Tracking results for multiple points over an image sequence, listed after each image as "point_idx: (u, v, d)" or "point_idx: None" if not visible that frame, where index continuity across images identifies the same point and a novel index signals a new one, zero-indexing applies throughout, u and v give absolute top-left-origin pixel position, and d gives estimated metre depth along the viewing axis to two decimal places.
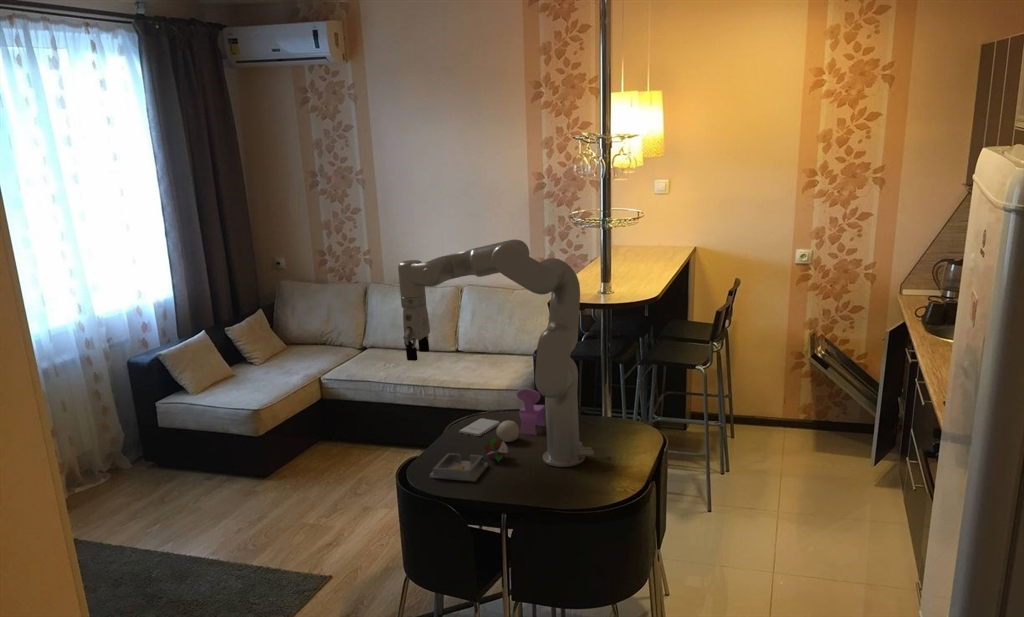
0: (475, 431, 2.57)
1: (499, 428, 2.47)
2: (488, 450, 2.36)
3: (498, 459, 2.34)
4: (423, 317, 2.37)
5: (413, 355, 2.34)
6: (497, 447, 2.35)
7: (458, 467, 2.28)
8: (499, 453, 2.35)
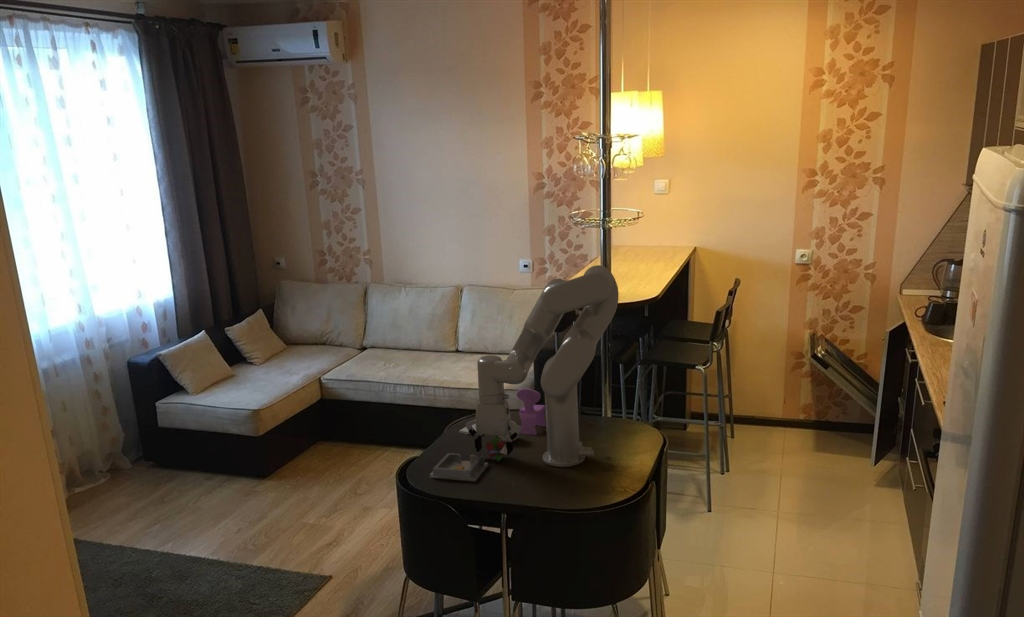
0: None
1: None
2: (489, 448, 2.36)
3: (498, 459, 2.34)
4: None
5: None
6: (499, 447, 2.35)
7: (458, 467, 2.28)
8: (500, 453, 2.35)
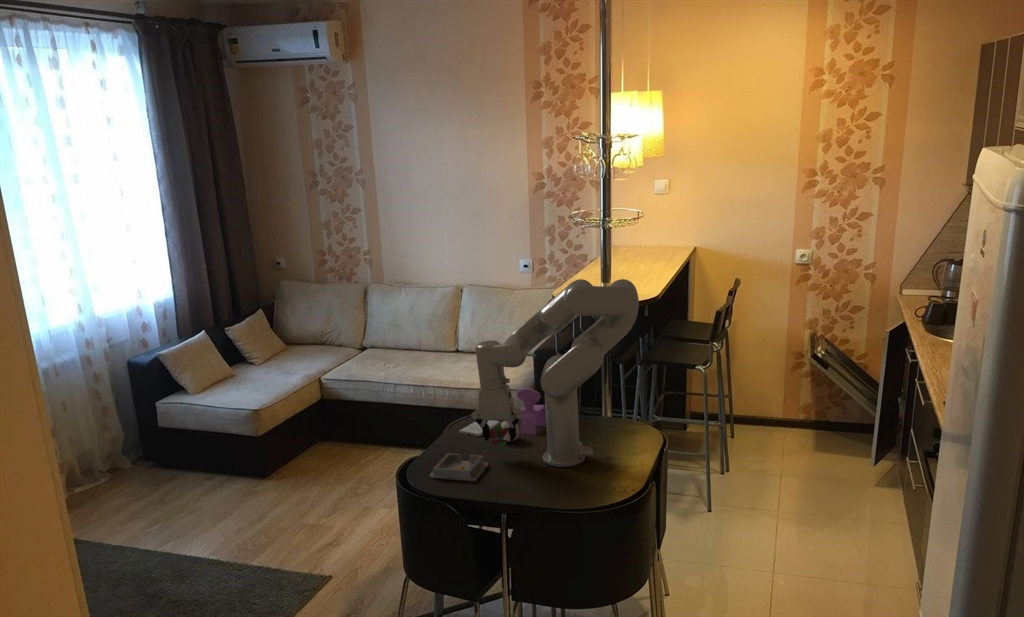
0: (475, 431, 2.57)
1: None
2: (492, 435, 2.35)
3: (501, 446, 2.33)
4: None
5: None
6: (502, 434, 2.34)
7: (458, 467, 2.28)
8: (503, 440, 2.34)
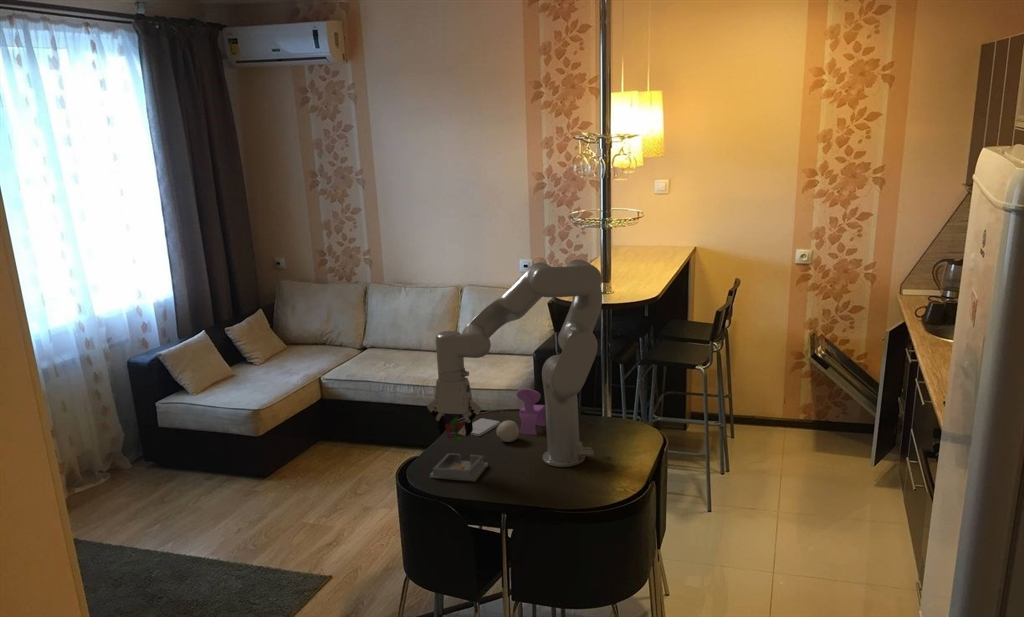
0: (475, 431, 2.57)
1: (499, 428, 2.47)
2: (448, 429, 2.27)
3: (456, 440, 2.25)
4: None
5: None
6: (458, 428, 2.26)
7: (458, 467, 2.28)
8: (459, 434, 2.26)
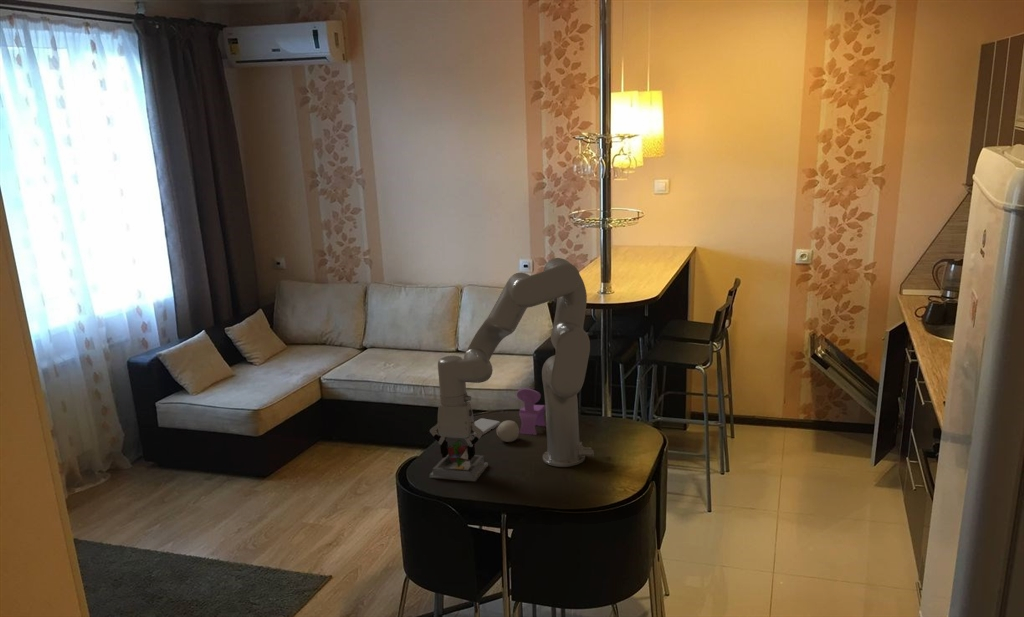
0: None
1: (499, 428, 2.47)
2: (450, 453, 2.28)
3: (459, 464, 2.27)
4: None
5: None
6: (460, 452, 2.27)
7: (458, 467, 2.28)
8: (461, 458, 2.27)
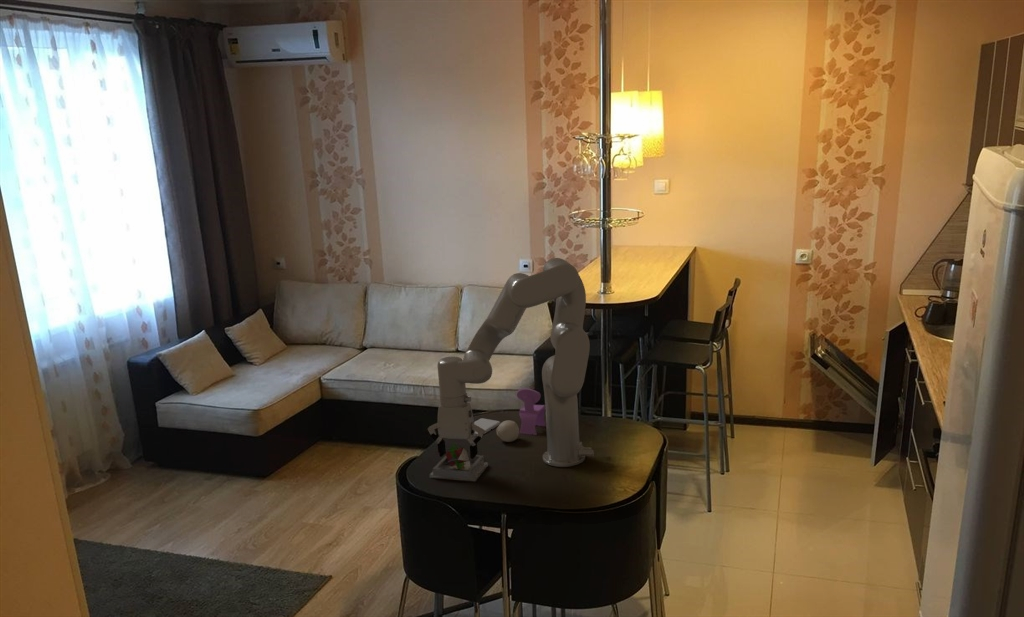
0: (475, 431, 2.57)
1: (499, 428, 2.47)
2: (449, 457, 2.29)
3: (459, 467, 2.27)
4: None
5: None
6: (458, 454, 2.28)
7: None
8: (460, 461, 2.28)
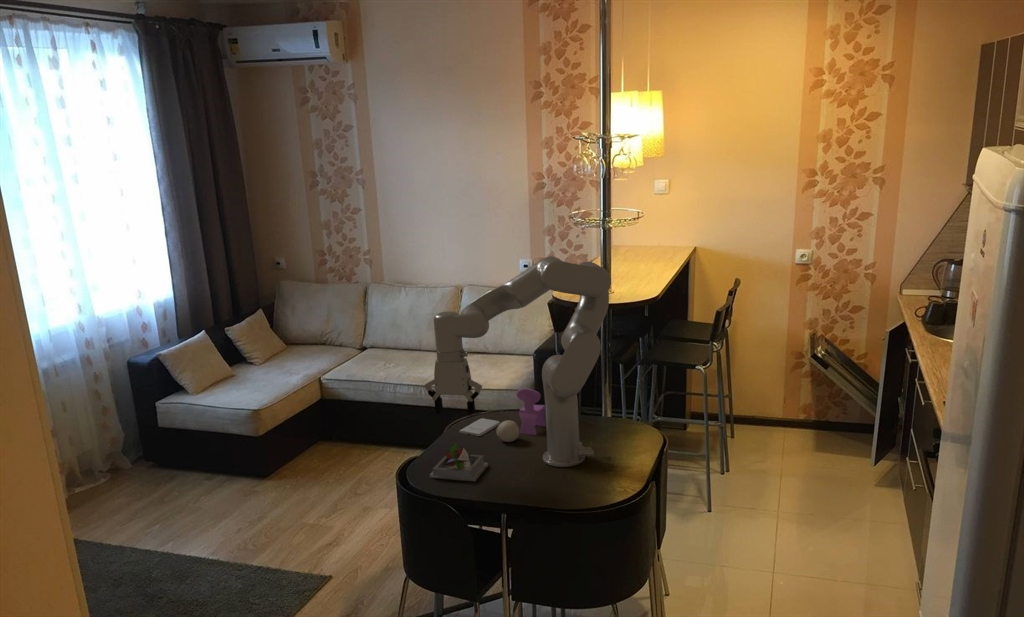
0: (475, 431, 2.57)
1: (499, 428, 2.47)
2: (449, 457, 2.29)
3: (459, 467, 2.27)
4: None
5: None
6: (458, 454, 2.28)
7: None
8: (460, 461, 2.28)
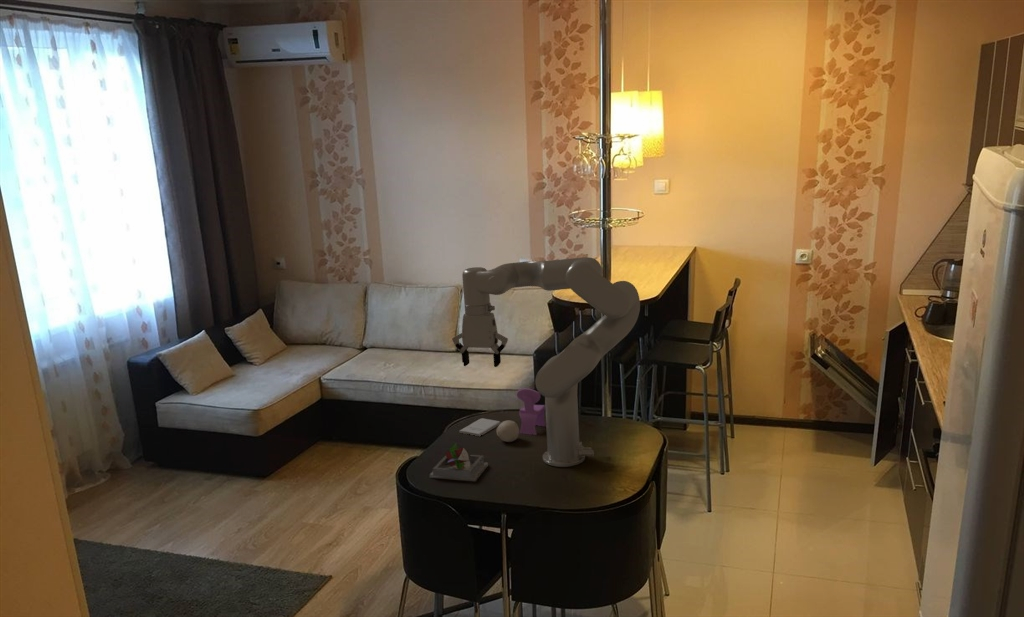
0: (475, 431, 2.57)
1: (499, 428, 2.47)
2: (449, 457, 2.29)
3: (459, 467, 2.27)
4: None
5: None
6: (458, 454, 2.28)
7: None
8: (460, 461, 2.28)
